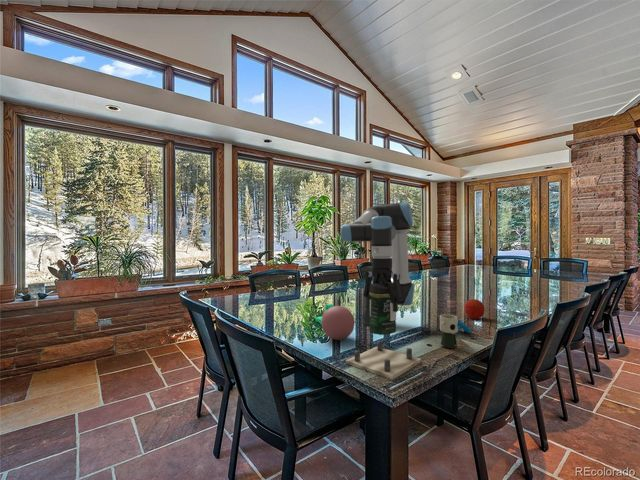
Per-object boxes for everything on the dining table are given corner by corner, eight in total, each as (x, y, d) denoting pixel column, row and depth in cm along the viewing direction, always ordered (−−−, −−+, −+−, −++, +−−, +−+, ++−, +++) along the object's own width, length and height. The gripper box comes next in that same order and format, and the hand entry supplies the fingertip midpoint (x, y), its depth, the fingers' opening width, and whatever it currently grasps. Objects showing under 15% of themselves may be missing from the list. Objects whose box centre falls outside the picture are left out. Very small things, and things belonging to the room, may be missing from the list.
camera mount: (314, 322, 176) (314, 304, 176) (325, 320, 181) (325, 302, 181) (328, 327, 167) (327, 307, 167) (339, 324, 171) (338, 305, 171)
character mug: (449, 352, 127) (449, 320, 127) (434, 347, 133) (433, 316, 133) (463, 346, 134) (463, 315, 134) (448, 341, 140) (448, 312, 140)
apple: (488, 320, 173) (488, 299, 173) (469, 320, 173) (469, 300, 173) (479, 316, 183) (478, 296, 183) (461, 316, 183) (461, 296, 183)
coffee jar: (378, 337, 112) (377, 285, 112) (366, 331, 119) (365, 282, 119) (400, 333, 116) (399, 283, 116) (387, 327, 123) (386, 280, 123)
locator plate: (345, 363, 118) (345, 350, 118) (376, 349, 132) (376, 338, 132) (392, 379, 104) (392, 365, 104) (421, 362, 118) (420, 349, 118)
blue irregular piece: (476, 332, 147) (460, 317, 148) (468, 342, 146) (452, 327, 147) (463, 329, 158) (449, 315, 159) (456, 338, 157) (441, 324, 158)
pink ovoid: (338, 329, 161) (338, 299, 160) (361, 341, 143) (360, 307, 143) (311, 334, 154) (311, 303, 153) (331, 347, 136) (331, 311, 136)
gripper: (353, 257, 122) (354, 315, 122) (401, 259, 107) (402, 325, 108) (364, 256, 128) (365, 312, 128) (412, 257, 113) (413, 321, 113)
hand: (382, 318), depth 118 cm, fingers closed on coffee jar, 8 cm apart
